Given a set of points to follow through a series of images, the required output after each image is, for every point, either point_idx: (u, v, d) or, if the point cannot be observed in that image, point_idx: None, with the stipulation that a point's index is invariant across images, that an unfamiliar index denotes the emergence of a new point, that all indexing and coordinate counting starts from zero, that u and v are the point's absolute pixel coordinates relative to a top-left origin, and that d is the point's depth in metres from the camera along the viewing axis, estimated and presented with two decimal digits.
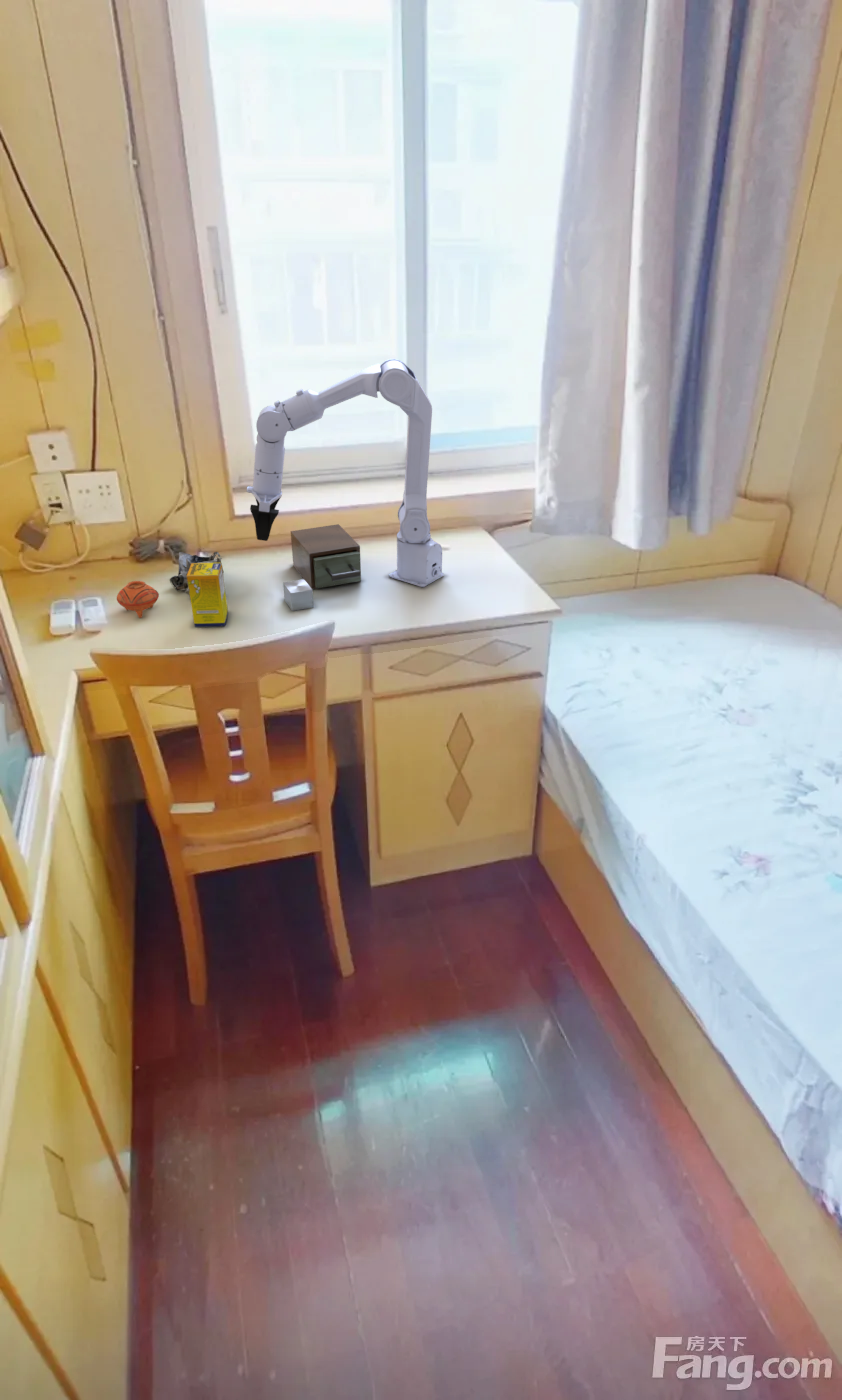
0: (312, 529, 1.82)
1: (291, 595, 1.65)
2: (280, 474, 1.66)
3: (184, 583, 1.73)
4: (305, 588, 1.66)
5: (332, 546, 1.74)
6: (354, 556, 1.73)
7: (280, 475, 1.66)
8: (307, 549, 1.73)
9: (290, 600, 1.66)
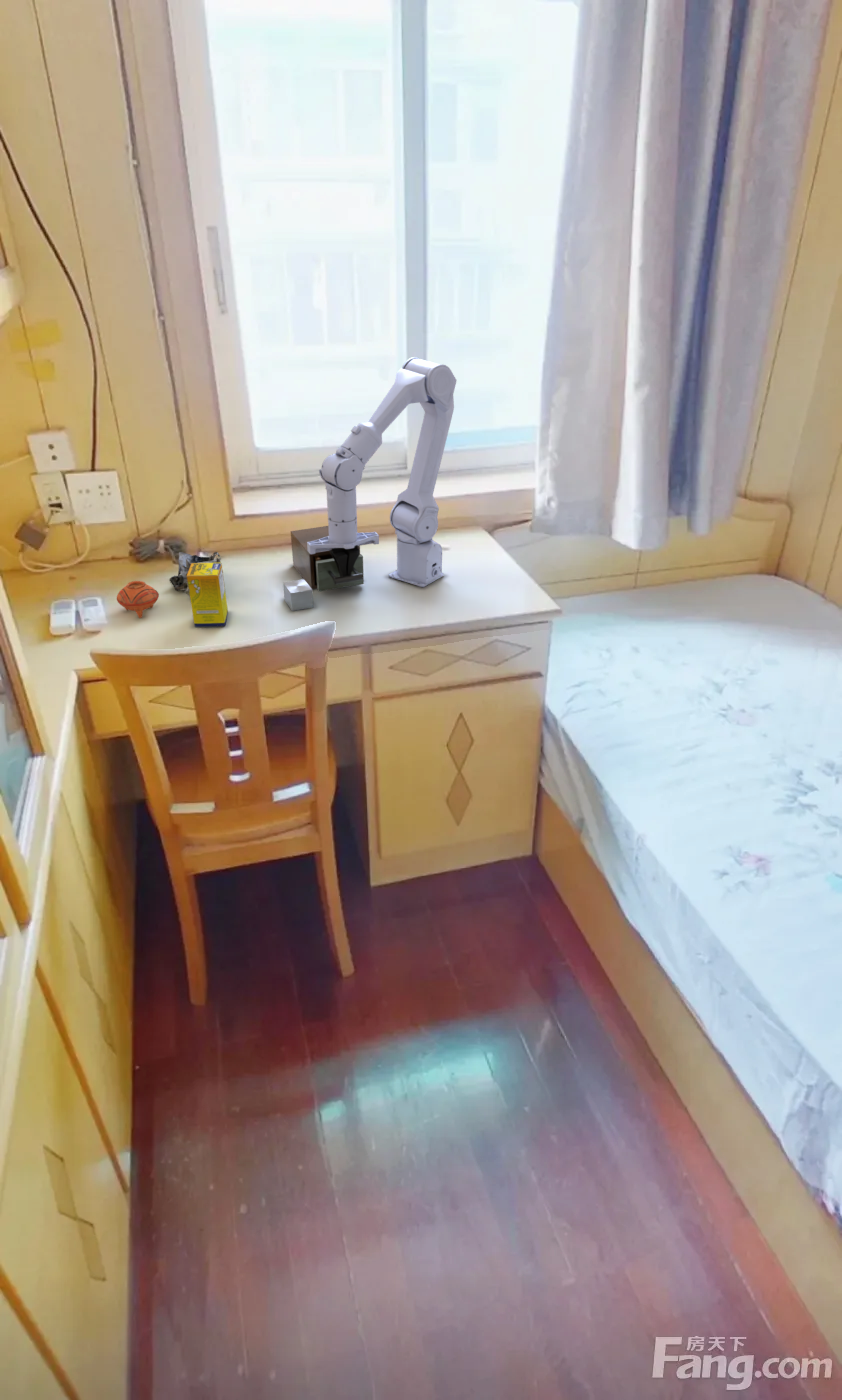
0: (312, 529, 1.82)
1: (291, 595, 1.65)
2: None
3: (183, 582, 1.73)
4: (305, 588, 1.66)
5: None
6: None
7: None
8: (307, 549, 1.73)
9: (290, 600, 1.66)
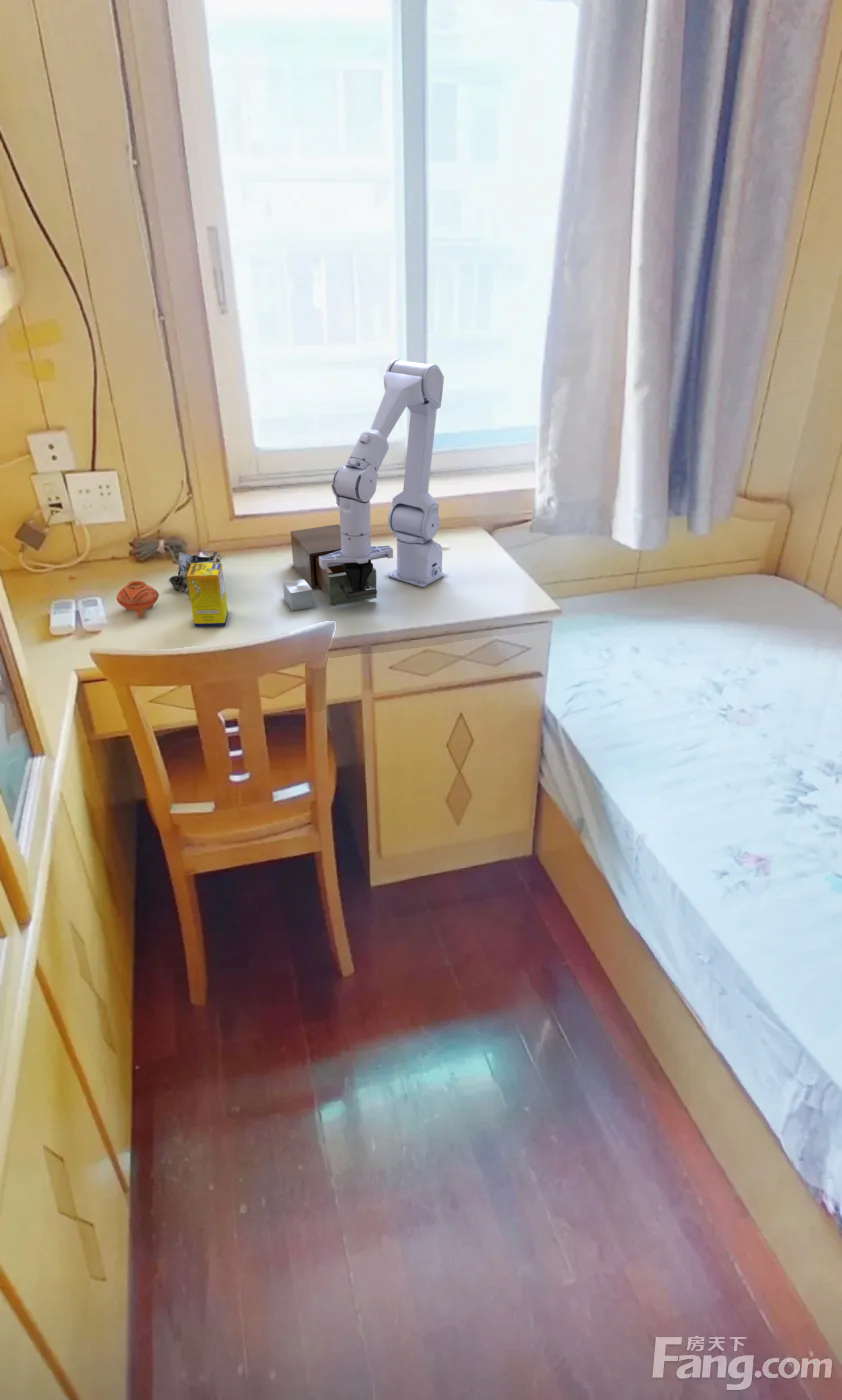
0: (312, 529, 1.82)
1: (291, 595, 1.65)
2: None
3: (183, 583, 1.73)
4: (305, 588, 1.66)
5: (332, 546, 1.74)
6: None
7: None
8: (307, 549, 1.73)
9: (290, 600, 1.66)
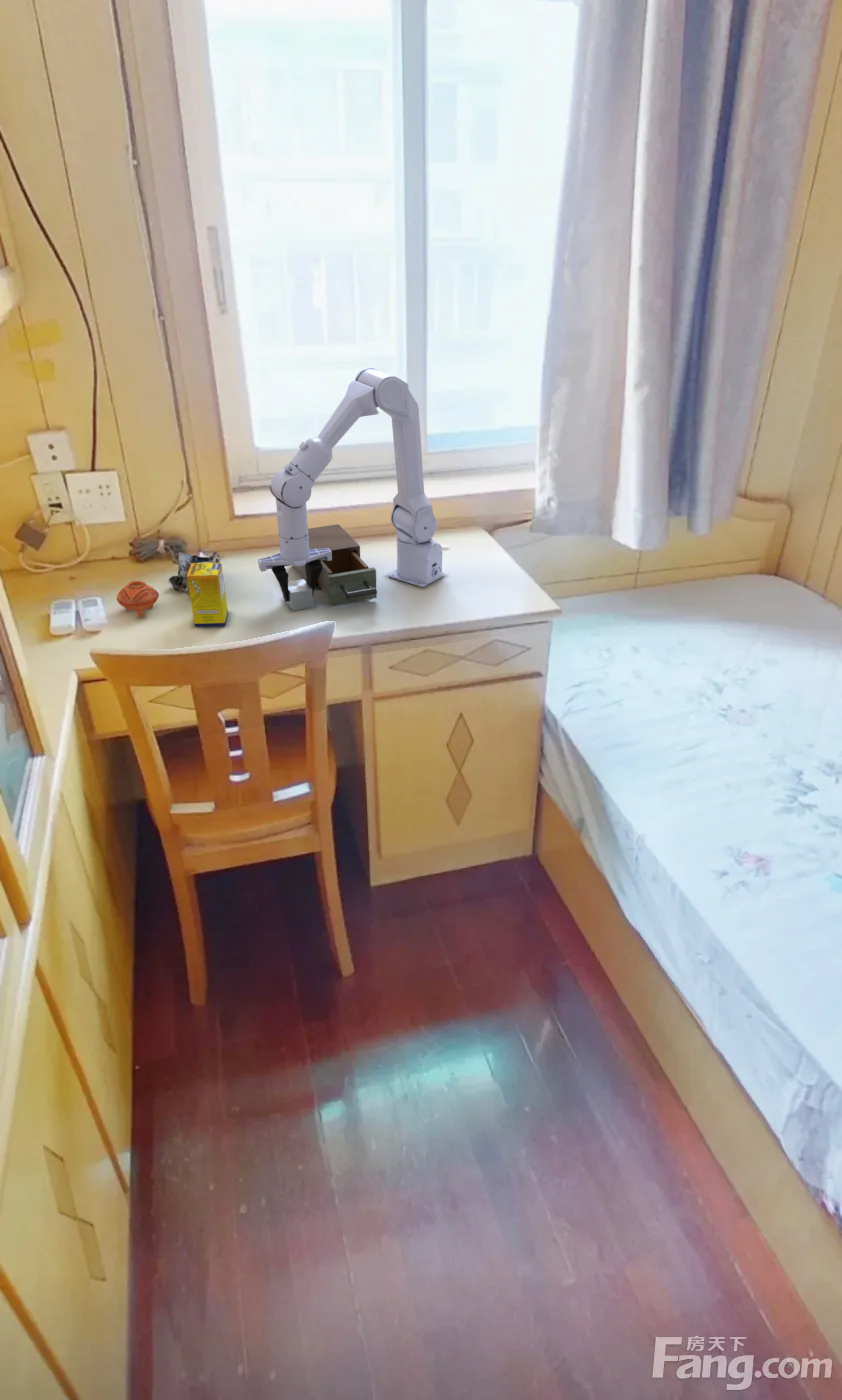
0: (312, 529, 1.82)
1: (291, 595, 1.65)
2: None
3: (183, 583, 1.73)
4: (305, 588, 1.66)
5: (332, 546, 1.74)
6: (369, 573, 1.66)
7: None
8: None
9: (290, 600, 1.66)
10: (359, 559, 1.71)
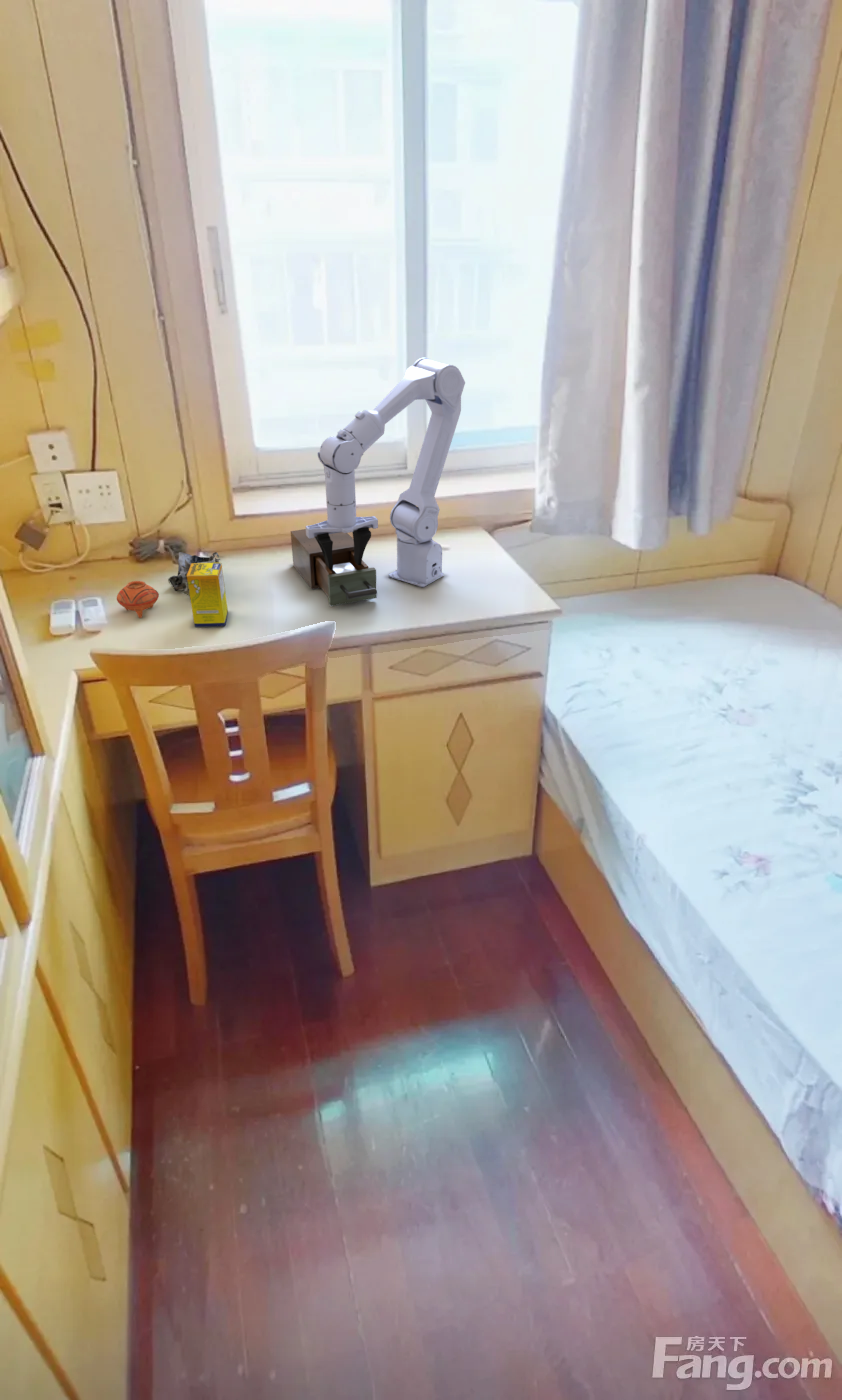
0: None
1: None
2: None
3: (182, 583, 1.73)
4: None
5: (332, 546, 1.74)
6: (369, 573, 1.66)
7: None
8: (307, 549, 1.73)
9: None
10: None
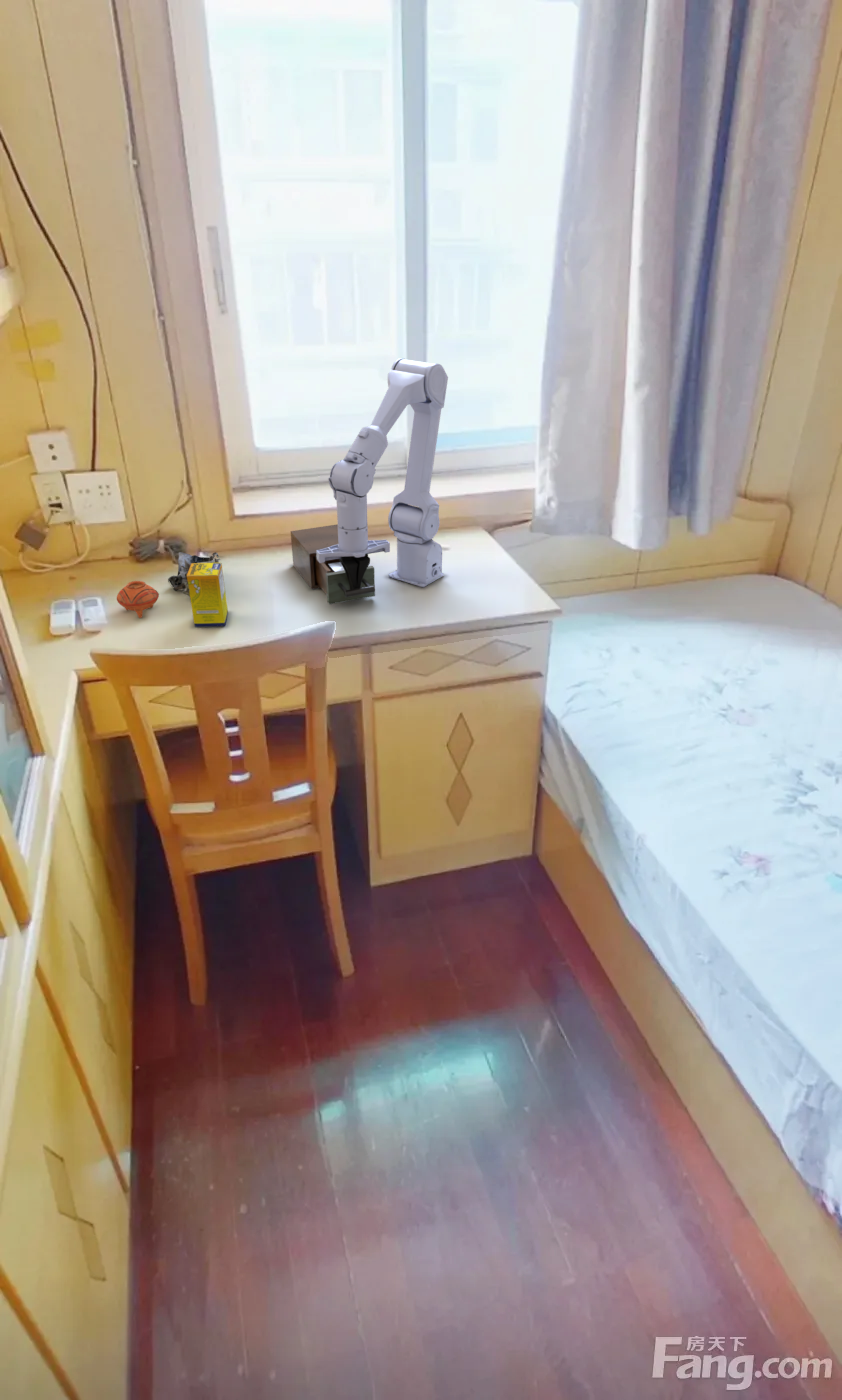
0: (312, 529, 1.82)
1: None
2: None
3: (182, 583, 1.73)
4: None
5: None
6: (367, 571, 1.67)
7: None
8: (307, 549, 1.73)
9: None
10: None
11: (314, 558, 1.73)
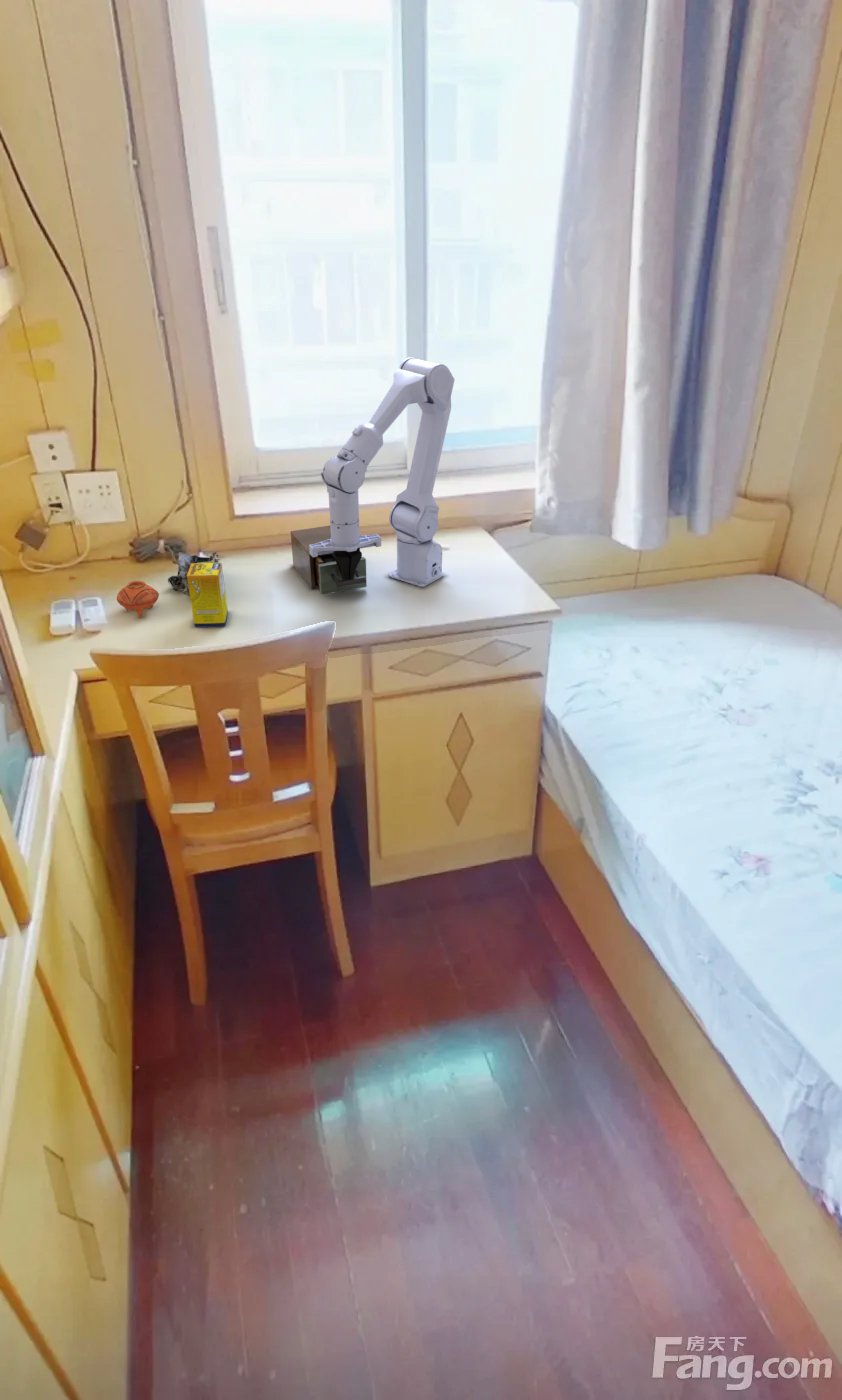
0: (312, 529, 1.82)
1: None
2: None
3: (182, 583, 1.73)
4: None
5: None
6: (359, 562, 1.71)
7: None
8: (307, 549, 1.73)
9: None
10: None
11: None
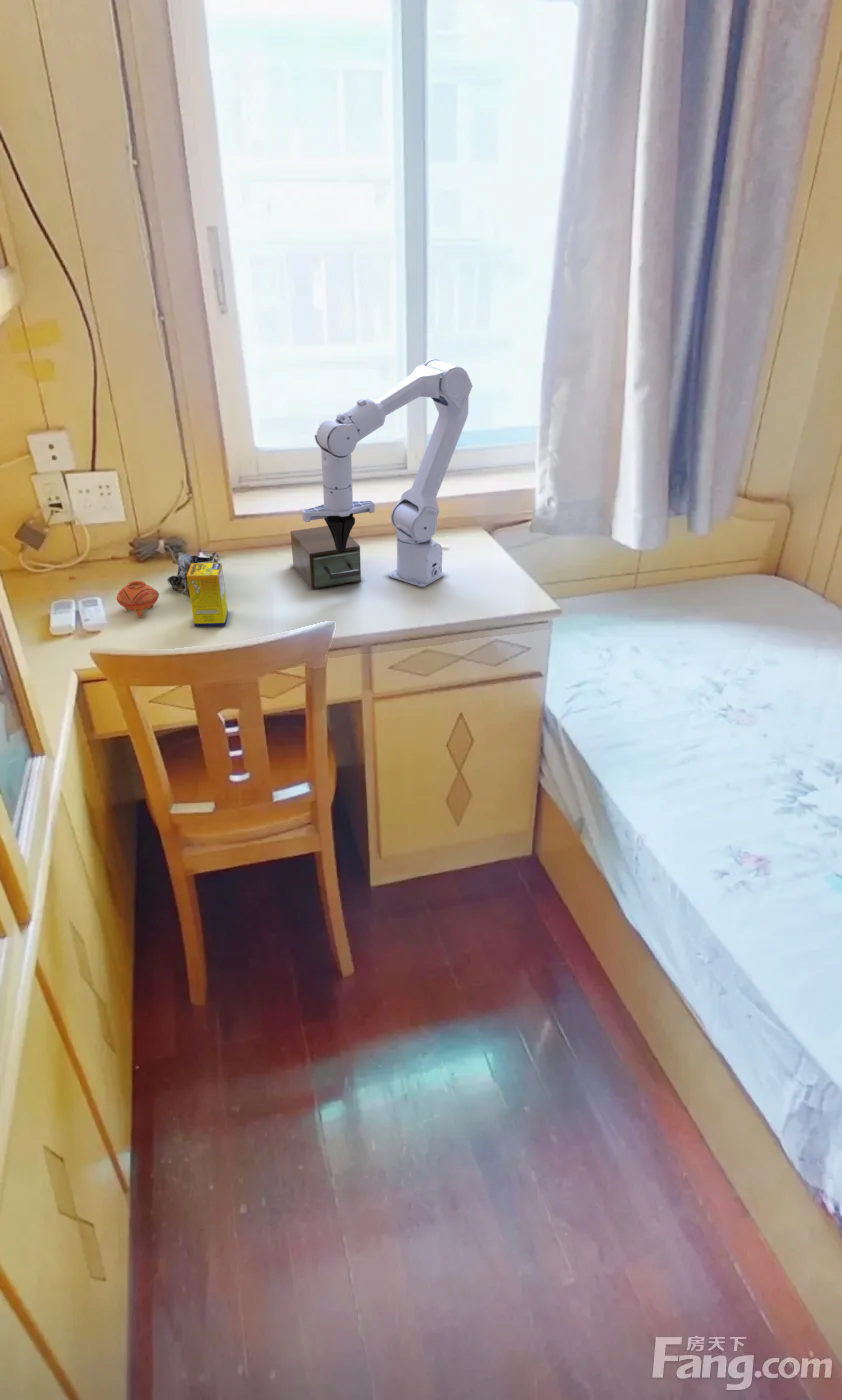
0: (312, 529, 1.82)
1: None
2: None
3: (181, 583, 1.73)
4: None
5: (332, 546, 1.74)
6: (353, 555, 1.74)
7: None
8: (307, 549, 1.73)
9: None
10: None
11: None
